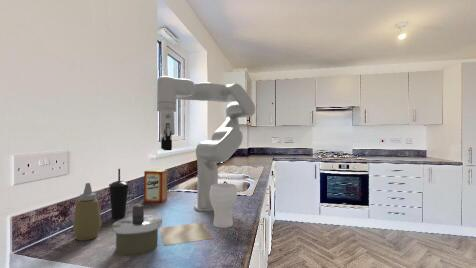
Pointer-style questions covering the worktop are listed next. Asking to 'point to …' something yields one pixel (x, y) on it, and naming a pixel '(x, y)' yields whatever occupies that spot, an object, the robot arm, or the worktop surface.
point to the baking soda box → (155, 186)
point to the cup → (223, 203)
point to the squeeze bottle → (87, 215)
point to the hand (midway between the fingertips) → (166, 149)
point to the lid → (137, 223)
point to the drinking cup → (118, 197)
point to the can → (136, 243)
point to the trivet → (184, 233)
